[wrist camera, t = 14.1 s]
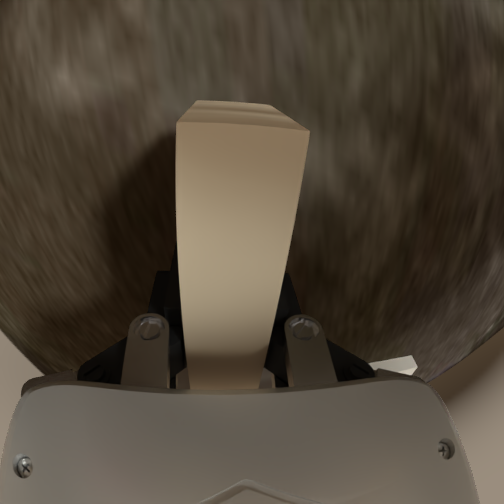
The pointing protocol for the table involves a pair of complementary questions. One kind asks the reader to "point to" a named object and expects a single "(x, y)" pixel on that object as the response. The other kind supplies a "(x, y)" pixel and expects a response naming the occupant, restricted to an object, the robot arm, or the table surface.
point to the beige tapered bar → (233, 236)
